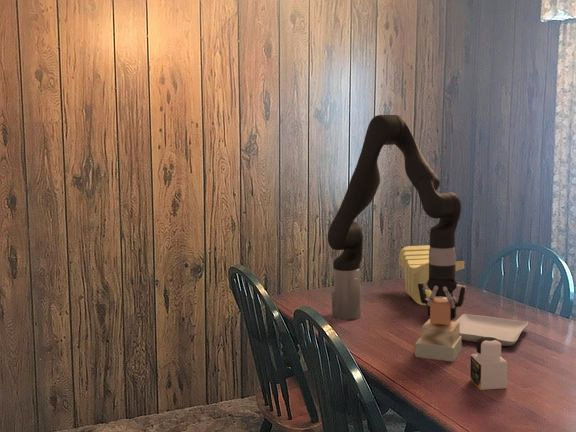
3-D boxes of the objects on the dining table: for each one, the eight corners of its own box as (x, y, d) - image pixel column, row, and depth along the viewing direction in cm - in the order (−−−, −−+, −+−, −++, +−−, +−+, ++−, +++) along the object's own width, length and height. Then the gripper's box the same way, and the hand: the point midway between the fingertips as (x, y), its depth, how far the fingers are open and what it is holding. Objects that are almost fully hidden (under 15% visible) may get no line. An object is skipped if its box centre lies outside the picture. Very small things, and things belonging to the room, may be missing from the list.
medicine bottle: (469, 379, 174) (470, 335, 172) (496, 377, 174) (497, 334, 173) (480, 390, 167) (480, 344, 165) (507, 388, 167) (508, 343, 166)
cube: (430, 322, 192) (430, 302, 191) (434, 317, 197) (434, 297, 196) (449, 325, 189) (449, 304, 188) (453, 319, 194) (453, 299, 193)
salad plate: (529, 331, 212) (529, 320, 211) (514, 352, 194) (515, 340, 193) (463, 322, 222) (463, 312, 222) (443, 341, 204) (443, 330, 204)
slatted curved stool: (399, 290, 264) (399, 246, 261) (438, 288, 265) (438, 244, 262) (419, 312, 234) (419, 262, 231) (464, 309, 235) (464, 260, 233)
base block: (415, 358, 191) (415, 343, 191) (424, 346, 201) (424, 331, 201) (453, 363, 187) (453, 348, 186) (461, 350, 197) (461, 336, 196)
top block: (421, 342, 191) (421, 327, 191) (429, 333, 199) (429, 318, 198) (452, 346, 187) (452, 331, 186) (459, 336, 195) (459, 322, 194)
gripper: (414, 262, 190) (414, 319, 193) (465, 266, 184) (464, 325, 187) (420, 257, 197) (420, 312, 199) (470, 260, 191) (469, 317, 193)
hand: (441, 318), depth 193 cm, fingers closed on cube, 5 cm apart
